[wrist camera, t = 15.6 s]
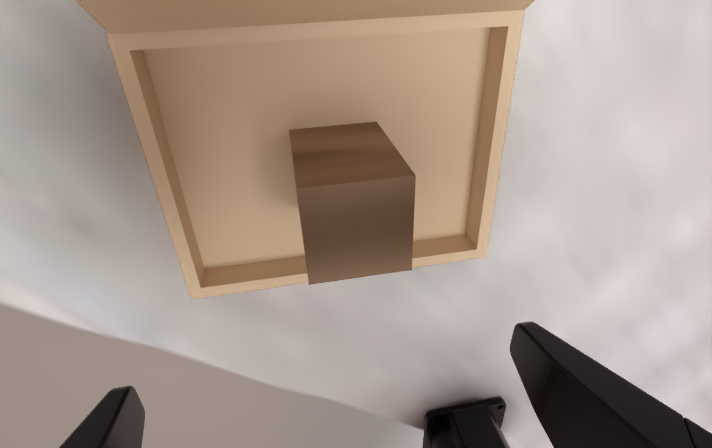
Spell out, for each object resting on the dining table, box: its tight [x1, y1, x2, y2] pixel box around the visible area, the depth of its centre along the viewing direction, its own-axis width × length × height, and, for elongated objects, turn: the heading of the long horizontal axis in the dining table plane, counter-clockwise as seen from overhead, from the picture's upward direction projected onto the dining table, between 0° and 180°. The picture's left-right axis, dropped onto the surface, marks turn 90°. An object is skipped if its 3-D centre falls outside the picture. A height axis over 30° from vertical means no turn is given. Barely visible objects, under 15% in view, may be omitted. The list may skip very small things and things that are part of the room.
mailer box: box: [106, 10, 525, 299], centre depth 19 cm, size 12×15×2 cm
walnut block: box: [289, 122, 416, 284], centre depth 17 cm, size 4×4×6 cm
